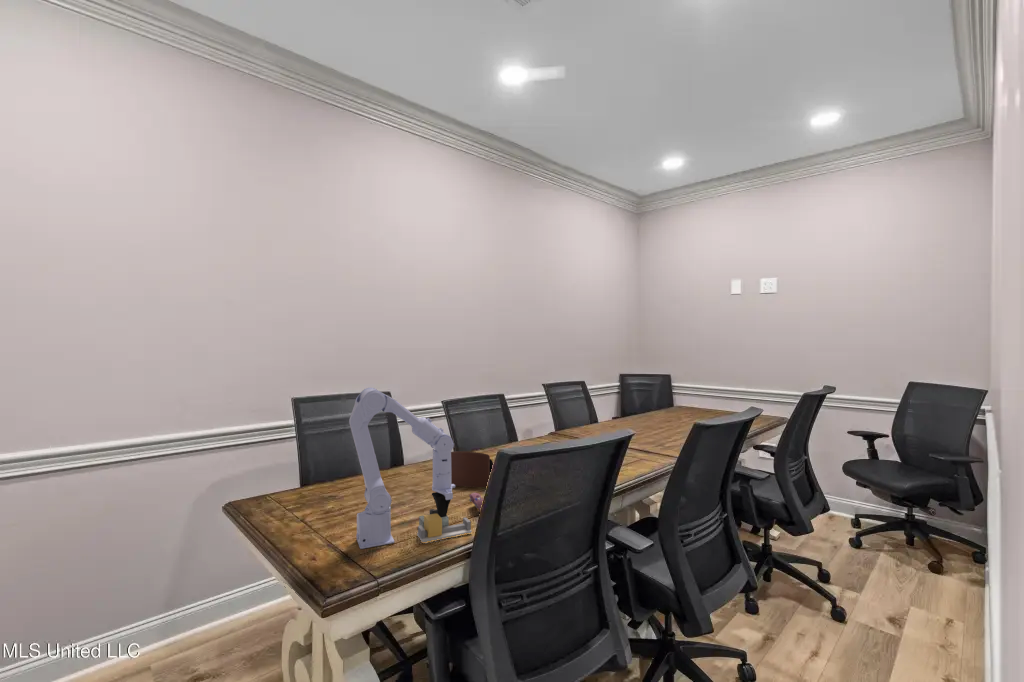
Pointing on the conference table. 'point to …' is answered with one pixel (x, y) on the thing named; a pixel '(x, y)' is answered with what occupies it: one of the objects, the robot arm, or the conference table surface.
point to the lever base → (444, 521)
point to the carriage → (433, 524)
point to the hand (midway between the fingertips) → (442, 516)
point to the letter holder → (470, 468)
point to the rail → (446, 531)
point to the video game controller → (476, 500)
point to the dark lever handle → (433, 511)
